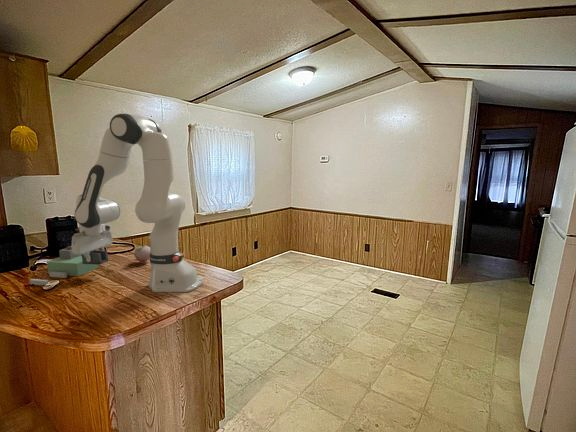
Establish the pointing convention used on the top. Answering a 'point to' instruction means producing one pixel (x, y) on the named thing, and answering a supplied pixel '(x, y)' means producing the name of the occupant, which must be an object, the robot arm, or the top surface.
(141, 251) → the decorative fruit
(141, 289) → the top surface
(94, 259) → the chute
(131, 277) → the top surface
